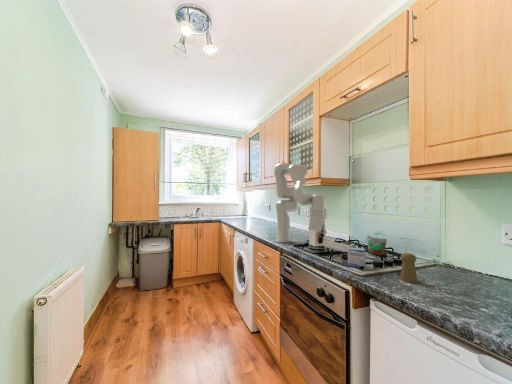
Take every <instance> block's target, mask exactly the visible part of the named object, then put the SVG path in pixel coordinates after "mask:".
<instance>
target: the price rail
mask: <svg viewBox="0 0 512 384" xmlns="http://www.w3.org/2000/svg"><path fill="white" fill-rule="evenodd" d="M322 246H324V247H323V248H327V249H330V250H335V251H339V252H342V253H345V252H348V248H356V243H350V244H345V243H340V242H338V241H337V242H336V241H331V240H327V239H324V245H321V246H320V247H322Z"/></svg>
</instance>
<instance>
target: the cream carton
mask: <svg viewBox="0 0 512 384" xmlns="http://www.w3.org/2000/svg"><path fill="white" fill-rule="evenodd" d="M308 233H309V241H308V242H309V243H308V244H309V245H310V246H313V247H322V246H321V245H324V240H325V236H324V237H323V243H321V244H319V243H318V237H319V233H317V232H316V231H311V230H310V231H309V232H308Z"/></svg>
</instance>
